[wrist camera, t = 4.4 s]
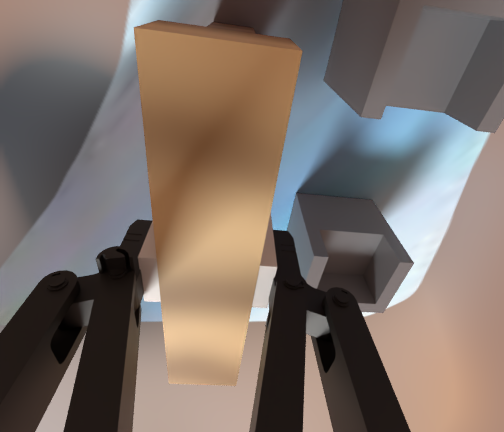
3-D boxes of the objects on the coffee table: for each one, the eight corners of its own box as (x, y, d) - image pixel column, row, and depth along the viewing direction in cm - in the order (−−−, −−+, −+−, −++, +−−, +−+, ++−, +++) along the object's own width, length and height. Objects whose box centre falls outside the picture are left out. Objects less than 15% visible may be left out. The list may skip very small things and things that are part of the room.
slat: (158, 19, 9) (133, 27, 7) (289, 38, 9) (302, 50, 7) (176, 343, 20) (168, 383, 18) (236, 346, 20) (236, 385, 18)
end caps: (348, -20, 21) (411, -32, 13) (458, -2, 22) (579, -3, 14) (284, 240, 35) (296, 308, 27) (352, 245, 36) (383, 312, 28)
